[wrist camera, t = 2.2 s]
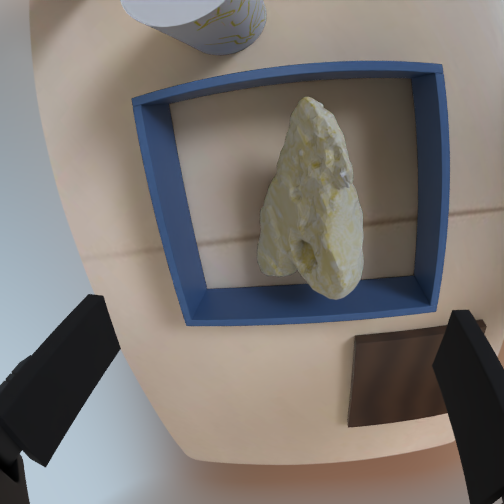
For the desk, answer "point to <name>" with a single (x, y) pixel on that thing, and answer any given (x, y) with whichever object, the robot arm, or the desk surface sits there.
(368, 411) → the board
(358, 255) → the pale grey rough stone
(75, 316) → the robot arm
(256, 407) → the desk surface
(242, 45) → the white cylinder
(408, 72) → the blue rectangular frame
